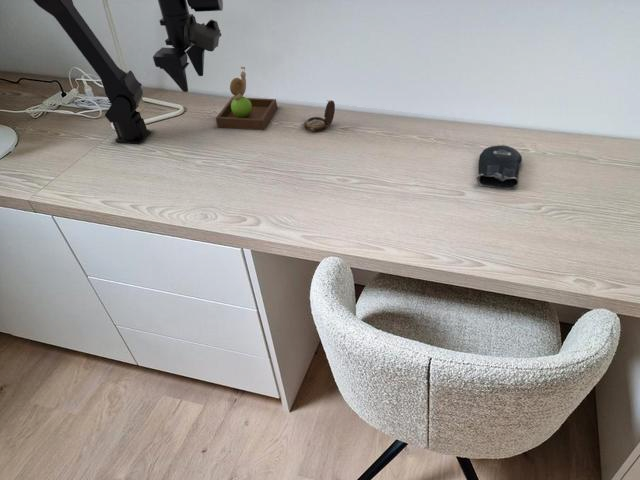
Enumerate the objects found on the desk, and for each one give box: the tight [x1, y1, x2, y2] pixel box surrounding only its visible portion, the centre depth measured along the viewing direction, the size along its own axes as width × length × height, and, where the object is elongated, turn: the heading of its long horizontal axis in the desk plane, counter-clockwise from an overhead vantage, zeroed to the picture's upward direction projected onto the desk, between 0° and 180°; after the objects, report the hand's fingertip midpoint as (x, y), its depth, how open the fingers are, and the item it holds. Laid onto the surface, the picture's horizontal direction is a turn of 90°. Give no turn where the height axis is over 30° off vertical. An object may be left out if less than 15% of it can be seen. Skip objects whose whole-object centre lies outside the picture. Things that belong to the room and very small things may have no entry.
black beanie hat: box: [475, 144, 523, 190], centre depth 110 cm, size 9×6×15 cm
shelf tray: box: [215, 96, 278, 131], centre depth 131 cm, size 13×13×3 cm
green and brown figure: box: [229, 66, 252, 118], centre depth 128 cm, size 5×6×12 cm
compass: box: [304, 99, 336, 133], centre depth 125 cm, size 8×8×7 cm
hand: (193, 83), depth 117 cm, fingers open, 9 cm apart
